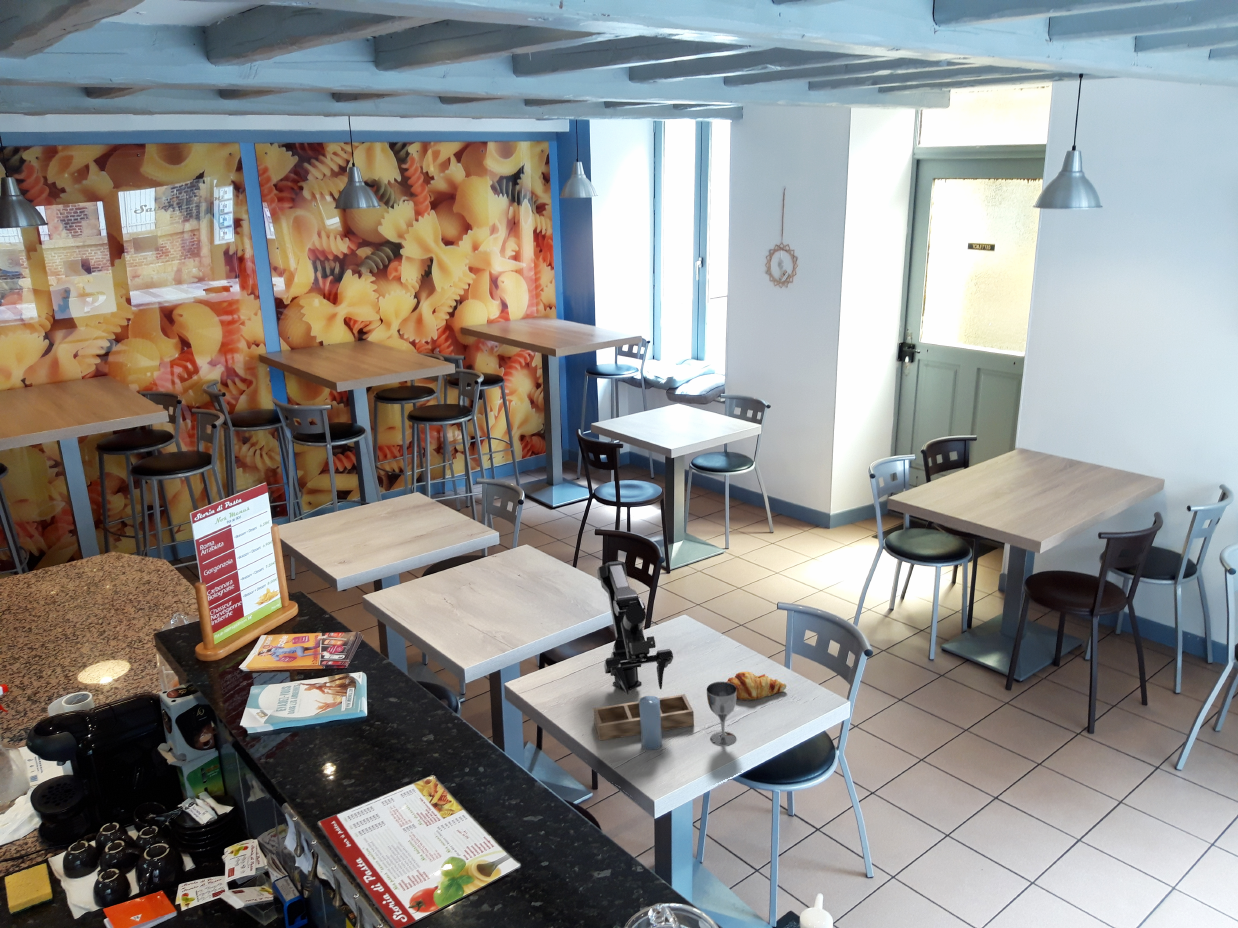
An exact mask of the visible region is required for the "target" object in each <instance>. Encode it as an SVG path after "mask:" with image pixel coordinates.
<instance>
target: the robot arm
mask: <svg viewBox="0 0 1238 928" xmlns="http://www.w3.org/2000/svg"><path fill="white" fill-rule="evenodd" d="M626 566H627V565H626V563H624V562H623V561H620V560H618V561H617V560H616V561H609V562H607V563H605V564H603V565H600V566H598V568H597V569H596V570H597V573H596V574H597V580H598V581H599V582H600V585H601V586H600V587H601V588H602V589H603V590H604V591H605V592H606V593H607V595H608V601H609V606H610V607H609V608H610V612H611V617H612V618H611V619H612V624H613V627H614V628H613V629H614V635H615V641H614V643H613V647H612V651H611V653H610V657H607V658H606V659H604V660H605V661H604V664H603V665H604V666H603V667H604V673H605V674H609V675H610V677H614V681H613V682H612V684H613V685H614V686H615V687H617V688H619V689H621V690H622V691H624V692H625V693H626V695H629V693H630V692H629V690H632V689H634V688H636V687H638V686H640V685H642V681H640V680H639V672H638V671H639V670H638V669H639V668H641V667H642V665H643V664H651V663H656V674H657V681H658V687H659V690H662V689H663V680H664V673H665V672H664V671H665V669H666V668H667V667H668V666H669V665H670V664H672V662H673V659H674V654H673V651H672V649H670V648H666V649H660V650H659V649H658V650H656V654H653V655H650V649H655V648H656V640H655V636H654V635H652V636H646V639H645V635H644V634H645V633H644V630H643V627H644V623H645V621H646V617H647V612H646V605H645V603H644V602H643V599H641V597H640V596H639V595H638V593H637V591H636V590H635V589H633V588H631V587H630V585H629V582H628V578H627V576H628V574H627V568H626Z"/></svg>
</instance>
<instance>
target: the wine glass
mask: <svg viewBox="0 0 1238 928" xmlns="http://www.w3.org/2000/svg"><path fill="white" fill-rule="evenodd" d="M706 699H707V703H708V707H709V708H710V711H711V712H712V713H713V714H714V715H715V716H716V717H717V718H718V720H719V722H720V725H721V728H720V729H721V730H720V731H716V732H714V733H712V734H711V735H710V737H709V740H710V742H711V744H713V745H716V746H719V747H729V746H732V745H734V744H735V743H736V741H738V740H737V739H738V738H737V735H736V734H734V733H733V732H731V731H727V730H726V731H725V726H726V725H725V723H726V720H727V717H729V716H730V715H731V714H732V713H733V711H734V710H735V708H736V704H737V700H738V699H737V689H736V686H735V685H733V684H732V683H729V682H727V681H715V682H712V683H710V684H708V685H707V686H706Z"/></svg>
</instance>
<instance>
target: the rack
mask: <svg viewBox="0 0 1238 928" xmlns="http://www.w3.org/2000/svg"><path fill="white" fill-rule="evenodd" d="M658 698H659V700H660V714H661V732H662V731H669V730H675V729H681V728H687V727H692V726H695V719H694V718H695V716H694V709H693V707H692V706H691V703H690V702H689V700H688V698H687V696H686V694H685V693H684V694H683V693H682V694H677V695H670V696H666V697H665V696H664V697H658ZM592 709H593V722H594V726H595V729H596V733H597V735H598V738H599V741H606V740H612V739H613V740H614V739H620V738H625V737H626V738H627V737H632V736H637V735H641V725H640V709H639V700H638V701H632V702H626V703H619V704H618V703H617V704H615V705H614V704H613V705H607V706H602V707H601V706H600V707H594V708H592Z"/></svg>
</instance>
